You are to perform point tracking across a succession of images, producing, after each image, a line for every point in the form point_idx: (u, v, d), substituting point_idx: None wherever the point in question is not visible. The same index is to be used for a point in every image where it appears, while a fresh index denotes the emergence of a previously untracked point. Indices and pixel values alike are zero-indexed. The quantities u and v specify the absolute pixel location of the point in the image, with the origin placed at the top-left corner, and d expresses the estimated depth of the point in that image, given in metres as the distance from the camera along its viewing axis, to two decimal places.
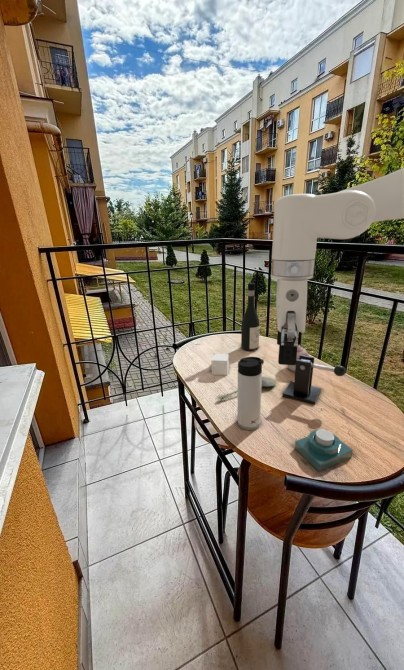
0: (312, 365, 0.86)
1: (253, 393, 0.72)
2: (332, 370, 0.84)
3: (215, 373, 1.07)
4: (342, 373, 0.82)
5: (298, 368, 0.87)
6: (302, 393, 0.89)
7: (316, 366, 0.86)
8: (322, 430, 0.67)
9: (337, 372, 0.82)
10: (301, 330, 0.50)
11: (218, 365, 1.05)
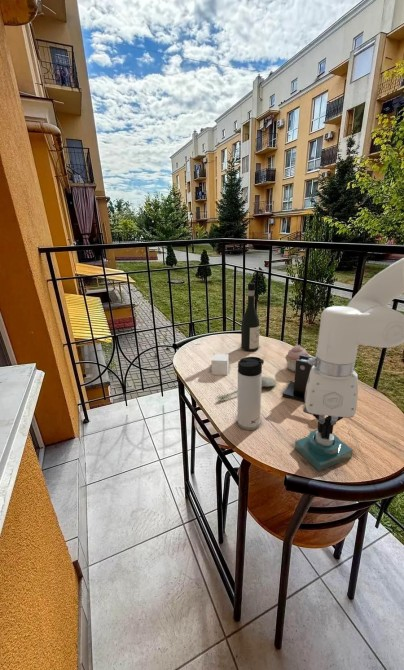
0: (312, 365, 0.86)
1: (253, 393, 0.72)
2: None
3: (215, 373, 1.07)
4: None
5: (298, 368, 0.87)
6: (302, 393, 0.89)
7: None
8: None
9: None
10: (306, 408, 0.62)
11: (218, 365, 1.05)
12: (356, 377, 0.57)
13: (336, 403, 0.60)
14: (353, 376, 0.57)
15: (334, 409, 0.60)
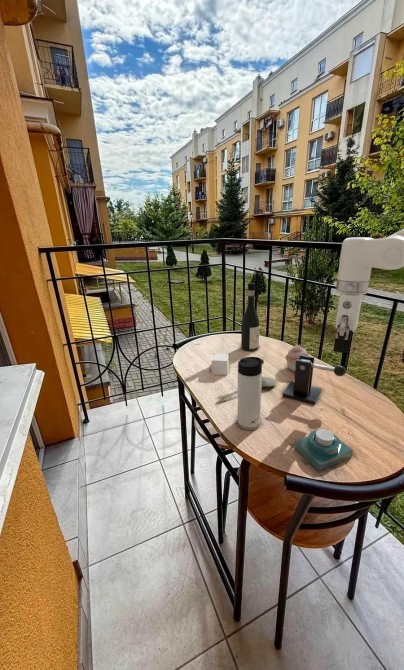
0: (312, 365, 0.86)
1: (253, 393, 0.72)
2: (332, 370, 0.84)
3: (215, 373, 1.07)
4: (342, 373, 0.82)
5: (298, 368, 0.87)
6: (302, 393, 0.89)
7: (316, 366, 0.86)
8: (322, 430, 0.67)
9: (337, 372, 0.82)
10: (352, 329, 0.73)
11: (218, 365, 1.05)
12: None
13: (358, 315, 0.76)
14: None
15: None
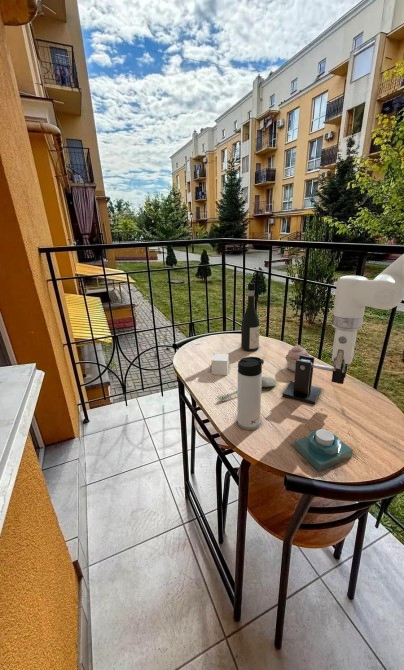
0: (312, 365, 0.86)
1: (253, 393, 0.72)
2: (332, 370, 0.84)
3: (215, 373, 1.07)
4: None
5: (298, 368, 0.87)
6: (302, 393, 0.89)
7: (316, 366, 0.86)
8: (322, 430, 0.67)
9: None
10: (347, 363, 0.76)
11: (218, 365, 1.05)
12: None
13: (354, 347, 0.80)
14: None
15: (353, 352, 0.80)
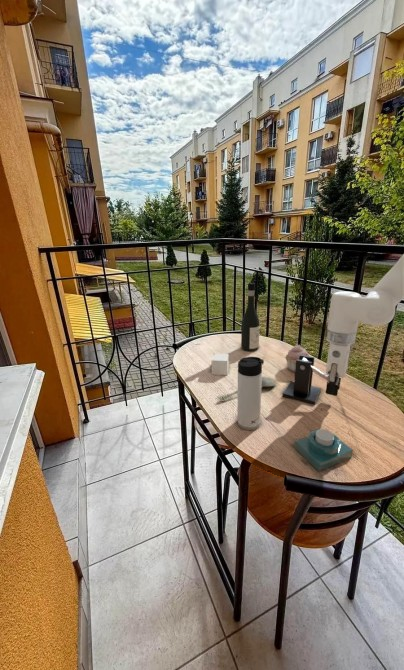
0: (311, 368, 0.87)
1: (253, 393, 0.72)
2: None
3: (215, 373, 1.07)
4: None
5: (298, 368, 0.87)
6: (302, 393, 0.89)
7: (315, 370, 0.86)
8: (322, 430, 0.67)
9: None
10: (341, 376, 0.78)
11: (218, 365, 1.05)
12: None
13: None
14: None
15: (347, 365, 0.82)
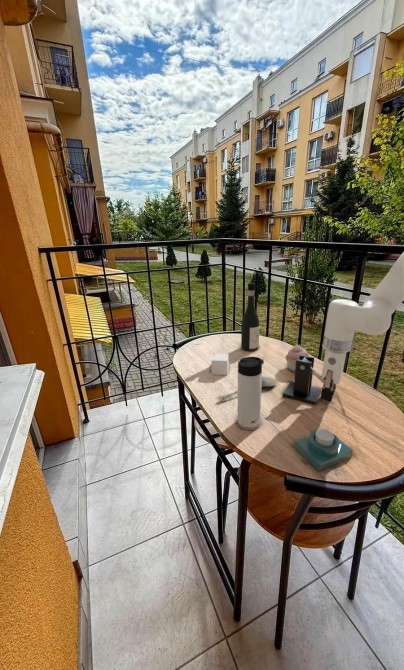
0: None
1: (253, 393, 0.72)
2: None
3: (215, 373, 1.07)
4: None
5: (298, 368, 0.87)
6: (302, 393, 0.89)
7: (313, 372, 0.87)
8: (322, 430, 0.67)
9: None
10: (336, 382, 0.80)
11: (218, 365, 1.05)
12: None
13: (343, 367, 0.83)
14: None
15: (342, 372, 0.83)
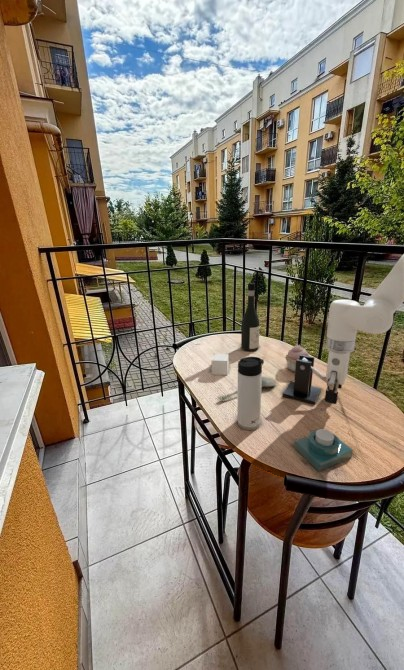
0: (311, 368, 0.87)
1: (253, 393, 0.72)
2: (326, 381, 0.86)
3: (215, 373, 1.07)
4: None
5: (298, 368, 0.87)
6: (302, 393, 0.89)
7: (314, 371, 0.87)
8: (322, 430, 0.67)
9: None
10: (340, 383, 0.79)
11: (218, 365, 1.05)
12: None
13: (347, 368, 0.82)
14: None
15: None
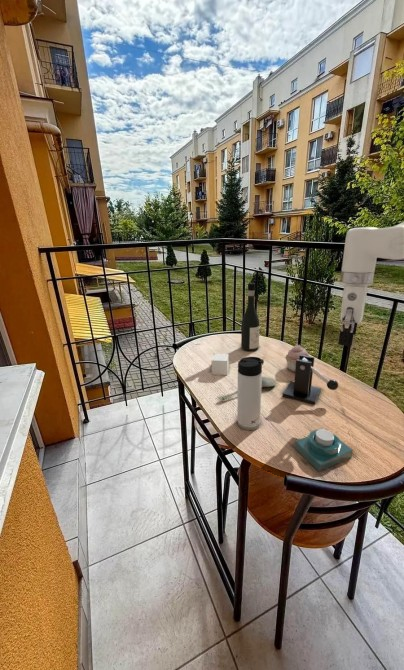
0: (311, 368, 0.87)
1: (253, 393, 0.72)
2: (326, 381, 0.86)
3: (215, 373, 1.07)
4: (334, 388, 0.84)
5: (298, 368, 0.87)
6: (302, 393, 0.89)
7: (314, 371, 0.87)
8: (322, 430, 0.67)
9: (330, 385, 0.84)
10: (357, 321, 0.71)
11: (218, 365, 1.05)
12: None
13: None
14: None
15: None
